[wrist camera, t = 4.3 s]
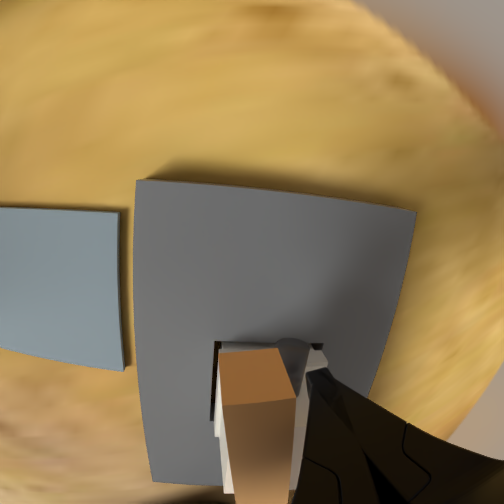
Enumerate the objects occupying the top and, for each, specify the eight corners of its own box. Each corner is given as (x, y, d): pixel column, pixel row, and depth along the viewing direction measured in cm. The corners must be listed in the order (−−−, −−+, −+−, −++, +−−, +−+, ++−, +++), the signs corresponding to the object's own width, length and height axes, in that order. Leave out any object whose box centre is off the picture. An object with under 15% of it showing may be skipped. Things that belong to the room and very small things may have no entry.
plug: (316, 298, 15) (375, 375, 9) (294, 399, 17) (327, 487, 11) (220, 293, 15) (229, 381, 8) (212, 399, 16) (218, 495, 10)
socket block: (399, 207, 15) (495, 236, 8) (325, 462, 19) (353, 531, 13) (144, 178, 13) (89, 190, 7) (154, 465, 17) (147, 543, 11)
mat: (120, 212, 13) (117, 213, 13) (125, 367, 15) (123, 371, 15) (-15, 206, 12) (-20, 207, 12) (3, 344, 14) (0, 347, 13)
